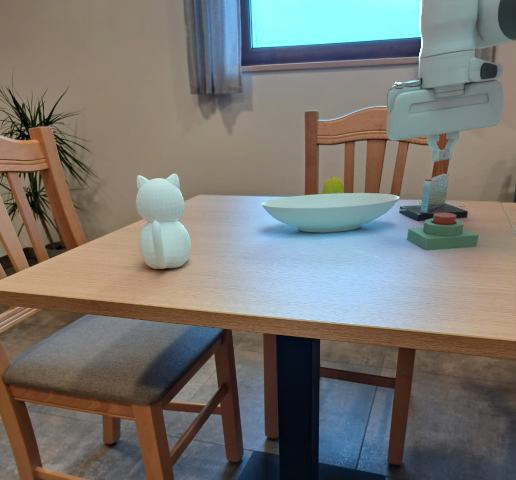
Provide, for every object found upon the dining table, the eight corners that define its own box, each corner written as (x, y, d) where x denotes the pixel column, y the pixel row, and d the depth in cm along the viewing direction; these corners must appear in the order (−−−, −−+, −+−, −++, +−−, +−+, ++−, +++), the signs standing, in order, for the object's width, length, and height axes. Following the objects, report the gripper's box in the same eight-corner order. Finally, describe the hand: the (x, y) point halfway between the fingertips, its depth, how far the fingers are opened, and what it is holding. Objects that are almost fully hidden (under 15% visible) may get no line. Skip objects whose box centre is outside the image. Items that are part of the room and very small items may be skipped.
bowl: (267, 241, 93) (266, 211, 91) (257, 225, 107) (256, 197, 104) (409, 232, 96) (412, 202, 94) (382, 217, 110) (385, 190, 107)
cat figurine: (193, 254, 87) (185, 170, 80) (191, 275, 76) (182, 180, 69) (145, 256, 87) (132, 172, 80) (136, 278, 76) (121, 183, 69)
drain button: (448, 221, 89) (449, 212, 88) (459, 226, 85) (460, 216, 85) (428, 222, 88) (429, 213, 88) (438, 227, 85) (440, 217, 84)
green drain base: (454, 236, 93) (457, 215, 91) (476, 246, 86) (480, 225, 84) (406, 239, 92) (409, 219, 90) (425, 250, 85) (428, 228, 83)
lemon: (322, 206, 124) (323, 174, 120) (343, 206, 123) (345, 174, 119) (320, 210, 119) (322, 177, 115) (342, 210, 118) (344, 177, 114)
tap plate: (446, 206, 118) (447, 199, 117) (483, 220, 104) (484, 212, 103) (386, 210, 116) (386, 203, 115) (415, 224, 102) (416, 217, 101)
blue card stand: (438, 203, 114) (442, 172, 111) (445, 204, 113) (449, 173, 110) (420, 212, 106) (424, 179, 102) (426, 213, 105) (431, 179, 101)
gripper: (393, 81, 76) (393, 170, 82) (512, 64, 77) (503, 153, 83) (380, 84, 82) (381, 167, 88) (491, 68, 83) (484, 151, 89)
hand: (441, 160), depth 85 cm, fingers closed
